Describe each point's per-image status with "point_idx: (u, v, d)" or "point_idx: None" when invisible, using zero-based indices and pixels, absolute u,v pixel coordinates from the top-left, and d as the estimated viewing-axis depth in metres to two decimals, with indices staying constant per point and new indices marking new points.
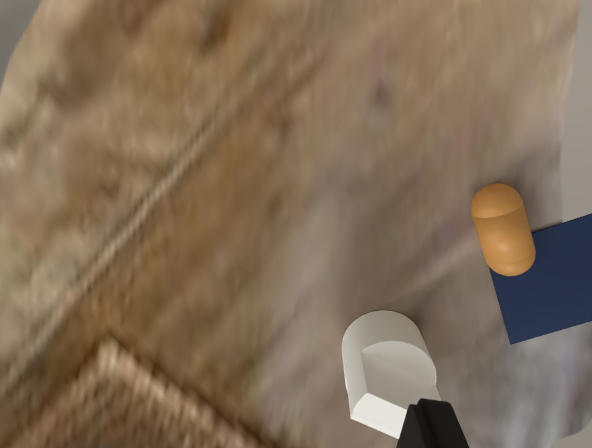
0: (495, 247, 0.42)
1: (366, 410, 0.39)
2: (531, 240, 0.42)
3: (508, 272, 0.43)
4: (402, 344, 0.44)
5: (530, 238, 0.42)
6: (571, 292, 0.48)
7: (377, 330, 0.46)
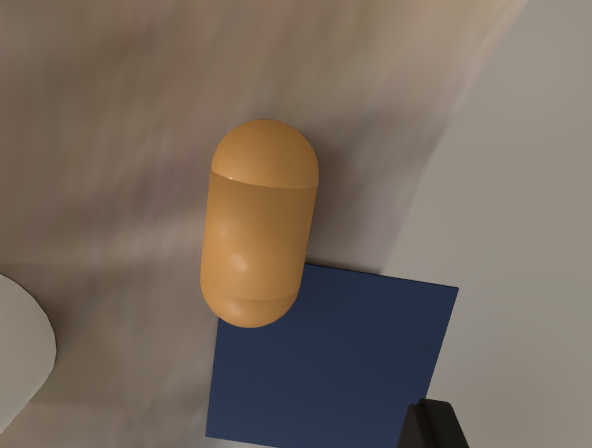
0: (214, 249, 0.19)
1: None
2: (292, 272, 0.19)
3: (219, 312, 0.19)
4: None
5: (291, 266, 0.19)
6: (339, 399, 0.26)
7: None
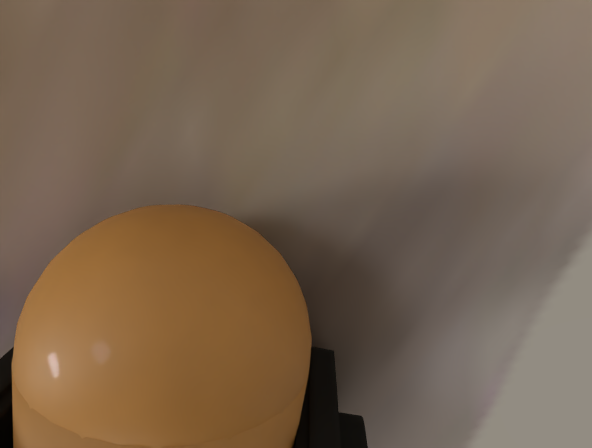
0: None
1: None
2: None
3: None
4: None
5: None
6: None
7: None
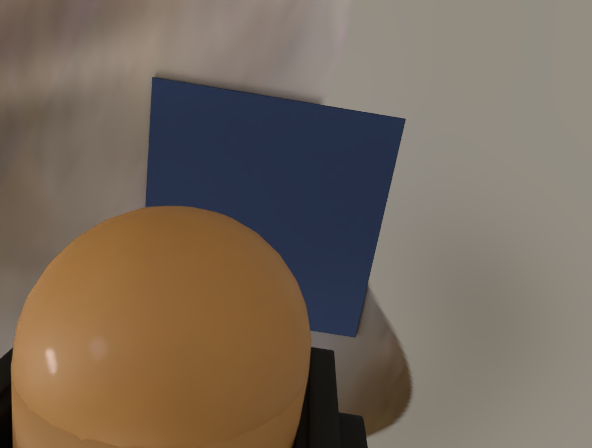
0: None
1: None
2: None
3: None
4: None
5: None
6: (282, 256, 0.24)
7: None
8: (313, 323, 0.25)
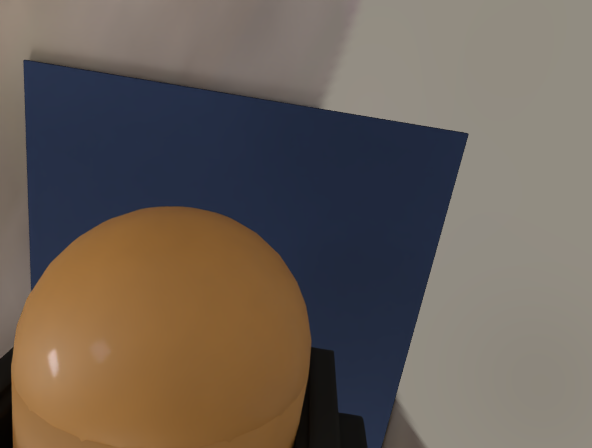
0: None
1: None
2: None
3: None
4: None
5: None
6: None
7: None
8: None
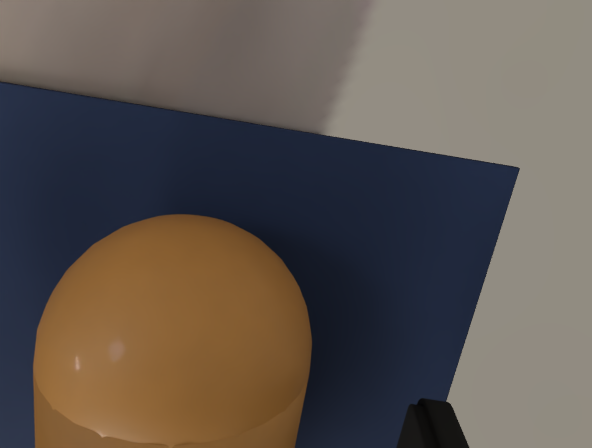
0: None
1: None
2: None
3: None
4: None
5: None
6: None
7: None
8: None
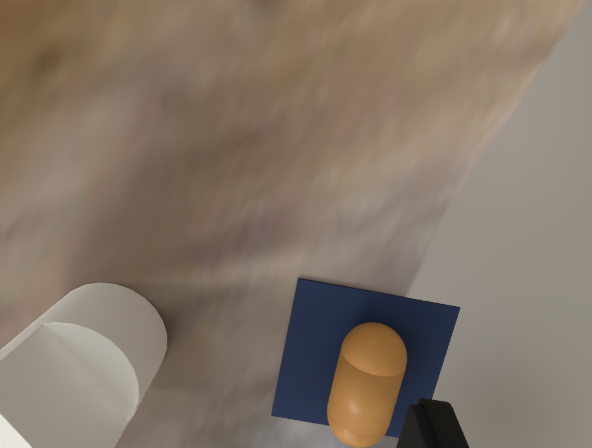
0: (345, 405, 0.31)
1: None
2: (390, 416, 0.31)
3: (344, 440, 0.32)
4: (107, 342, 0.28)
5: (390, 414, 0.31)
6: None
7: (94, 308, 0.30)
8: (390, 431, 0.36)
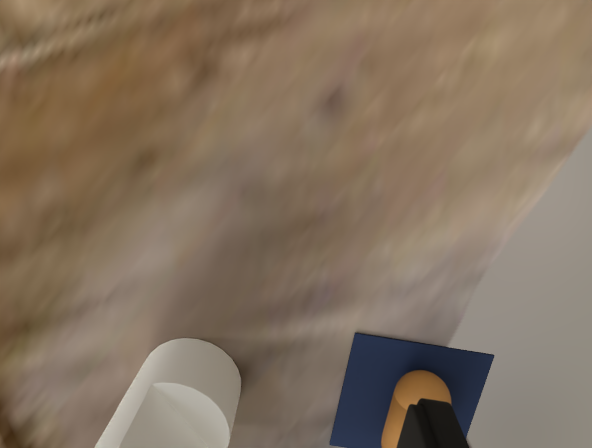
0: None
1: None
2: None
3: None
4: (204, 398, 0.34)
5: None
6: None
7: (189, 366, 0.35)
8: None
